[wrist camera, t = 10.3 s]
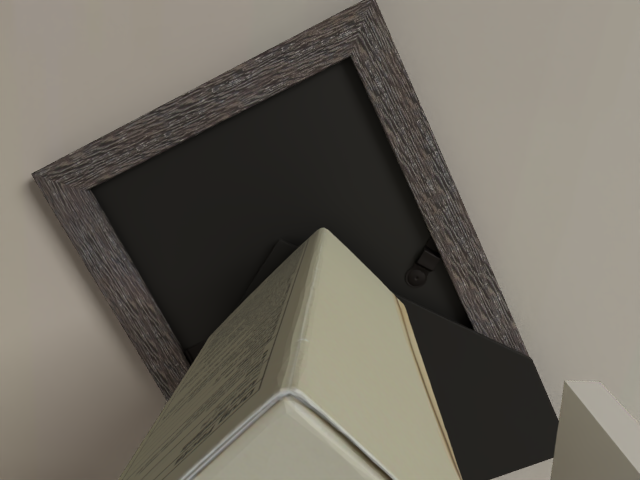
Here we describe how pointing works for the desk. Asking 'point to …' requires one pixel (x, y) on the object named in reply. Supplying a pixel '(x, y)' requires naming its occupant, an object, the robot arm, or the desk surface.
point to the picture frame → (304, 223)
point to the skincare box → (305, 386)
